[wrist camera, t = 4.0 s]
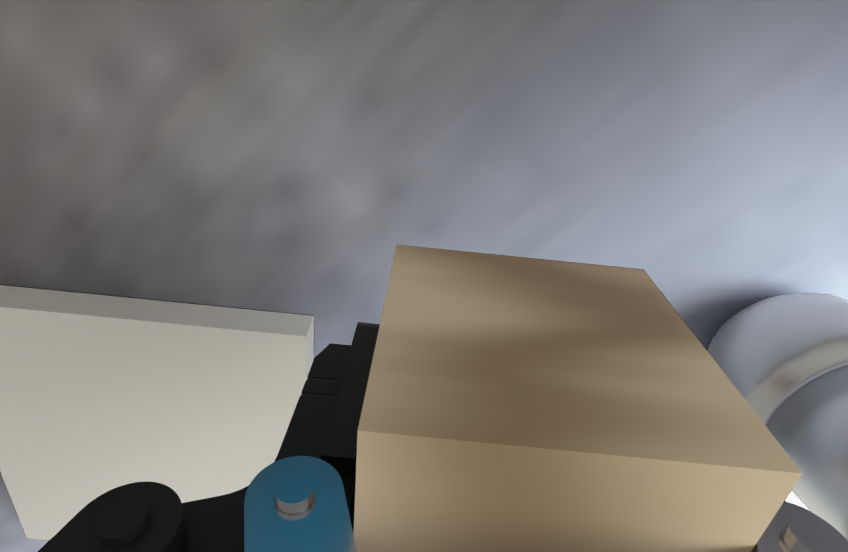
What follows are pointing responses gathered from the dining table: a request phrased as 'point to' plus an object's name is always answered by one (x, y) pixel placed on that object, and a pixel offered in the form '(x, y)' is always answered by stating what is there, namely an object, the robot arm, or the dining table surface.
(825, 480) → the plastic bottle
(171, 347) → the base plate
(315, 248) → the dining table surface
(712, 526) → the beech block
